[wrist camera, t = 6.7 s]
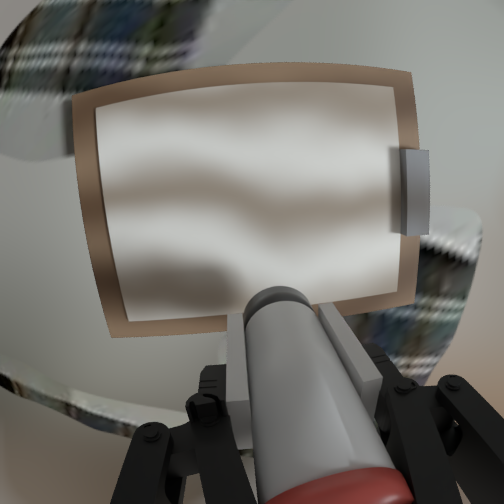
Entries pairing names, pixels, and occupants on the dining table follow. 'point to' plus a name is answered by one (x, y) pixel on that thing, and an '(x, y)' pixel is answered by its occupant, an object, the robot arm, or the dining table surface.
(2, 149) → the dining table surface
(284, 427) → the marker
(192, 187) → the clipboard
